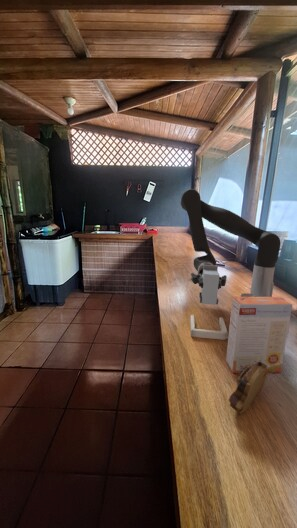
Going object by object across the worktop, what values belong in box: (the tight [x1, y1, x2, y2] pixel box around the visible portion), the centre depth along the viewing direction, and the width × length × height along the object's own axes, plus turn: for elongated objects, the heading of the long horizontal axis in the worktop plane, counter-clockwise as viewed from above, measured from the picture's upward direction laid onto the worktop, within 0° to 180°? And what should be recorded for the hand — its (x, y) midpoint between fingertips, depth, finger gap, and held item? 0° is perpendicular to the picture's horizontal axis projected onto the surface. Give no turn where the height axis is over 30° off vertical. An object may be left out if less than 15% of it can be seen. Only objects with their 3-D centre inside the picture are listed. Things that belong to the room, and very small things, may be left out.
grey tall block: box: [198, 264, 220, 306], centre depth 85 cm, size 6×7×12 cm
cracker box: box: [225, 296, 293, 374], centre depth 66 cm, size 14×6×21 cm, turn 92°
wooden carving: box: [228, 362, 269, 415], centre depth 55 cm, size 16×5×10 cm, turn 139°
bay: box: [189, 314, 229, 341], centre depth 88 cm, size 12×12×2 cm
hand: (210, 285), depth 82 cm, fingers closed on grey tall block, 5 cm apart
